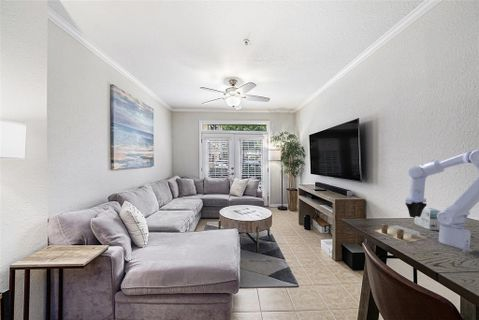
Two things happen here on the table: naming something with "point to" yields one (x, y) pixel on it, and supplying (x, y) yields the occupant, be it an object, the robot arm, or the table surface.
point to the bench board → (406, 239)
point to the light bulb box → (428, 219)
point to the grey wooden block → (405, 231)
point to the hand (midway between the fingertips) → (414, 216)
